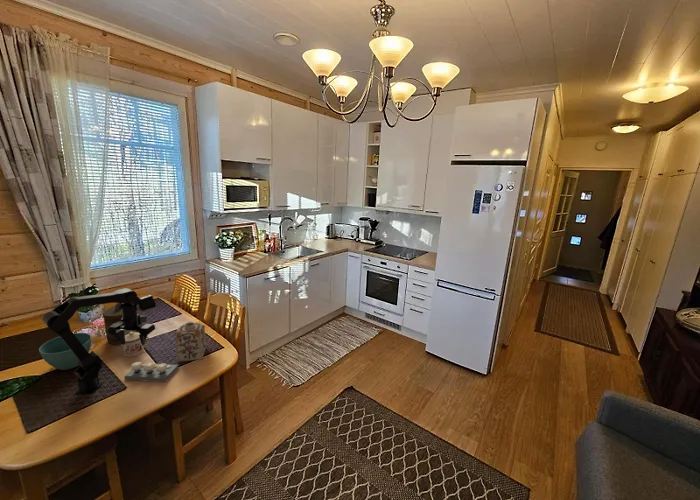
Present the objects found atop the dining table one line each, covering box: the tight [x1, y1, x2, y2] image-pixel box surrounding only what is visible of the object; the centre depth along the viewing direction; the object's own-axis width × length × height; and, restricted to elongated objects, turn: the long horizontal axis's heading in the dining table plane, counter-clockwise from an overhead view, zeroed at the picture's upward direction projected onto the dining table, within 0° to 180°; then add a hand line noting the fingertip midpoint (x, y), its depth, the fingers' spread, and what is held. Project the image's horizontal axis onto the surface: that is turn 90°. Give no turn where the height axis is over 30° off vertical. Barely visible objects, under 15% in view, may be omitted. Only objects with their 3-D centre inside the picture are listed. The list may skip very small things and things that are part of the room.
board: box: [124, 362, 179, 383], centre depth 142 cm, size 10×19×2 cm, turn 88°
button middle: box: [144, 362, 155, 373], centre depth 139 cm, size 4×4×4 cm
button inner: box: [130, 361, 143, 372], centre depth 139 cm, size 4×4×4 cm
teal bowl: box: [38, 332, 92, 371], centre depth 144 cm, size 18×18×12 cm
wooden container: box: [102, 303, 139, 347], centre depth 167 cm, size 15×15×22 cm
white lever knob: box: [157, 362, 168, 374], centre depth 139 cm, size 4×4×4 cm
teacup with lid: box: [122, 332, 151, 357], centre depth 157 cm, size 12×9×12 cm
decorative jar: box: [175, 321, 207, 363], centre depth 156 cm, size 12×12×18 cm
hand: (133, 344), depth 143 cm, fingers open, 9 cm apart
